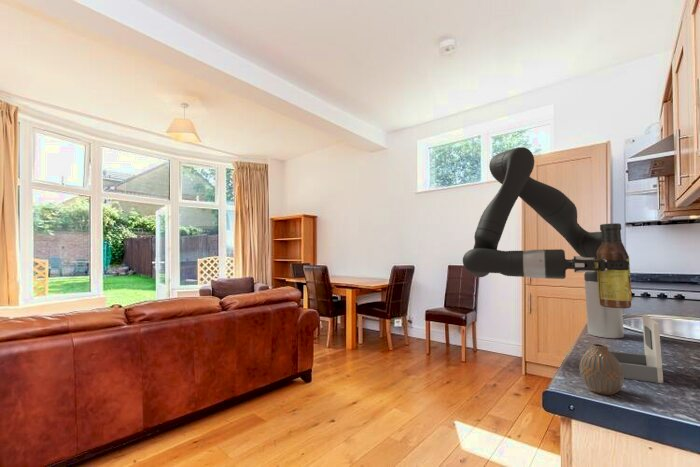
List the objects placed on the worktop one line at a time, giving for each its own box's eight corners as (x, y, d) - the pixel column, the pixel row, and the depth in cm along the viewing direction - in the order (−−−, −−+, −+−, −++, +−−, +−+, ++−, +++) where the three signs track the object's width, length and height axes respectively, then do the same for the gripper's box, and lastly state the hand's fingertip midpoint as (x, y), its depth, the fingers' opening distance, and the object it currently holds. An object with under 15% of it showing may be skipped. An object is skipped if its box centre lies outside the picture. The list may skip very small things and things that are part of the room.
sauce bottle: (638, 310, 76) (635, 222, 77) (606, 309, 77) (604, 223, 78) (621, 305, 82) (618, 224, 83) (592, 304, 84) (590, 224, 84)
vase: (610, 401, 61) (607, 351, 61) (572, 387, 67) (570, 343, 68) (633, 394, 64) (629, 347, 64) (594, 381, 70) (591, 339, 71)
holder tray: (590, 361, 83) (587, 312, 83) (650, 368, 77) (646, 315, 78) (595, 374, 74) (592, 319, 75) (663, 383, 68) (658, 323, 69)
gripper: (542, 249, 82) (630, 248, 73) (544, 249, 94) (620, 249, 85) (543, 280, 81) (632, 283, 73) (545, 276, 94) (621, 278, 85)
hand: (625, 264), depth 79 cm, fingers closed on sauce bottle, 6 cm apart
